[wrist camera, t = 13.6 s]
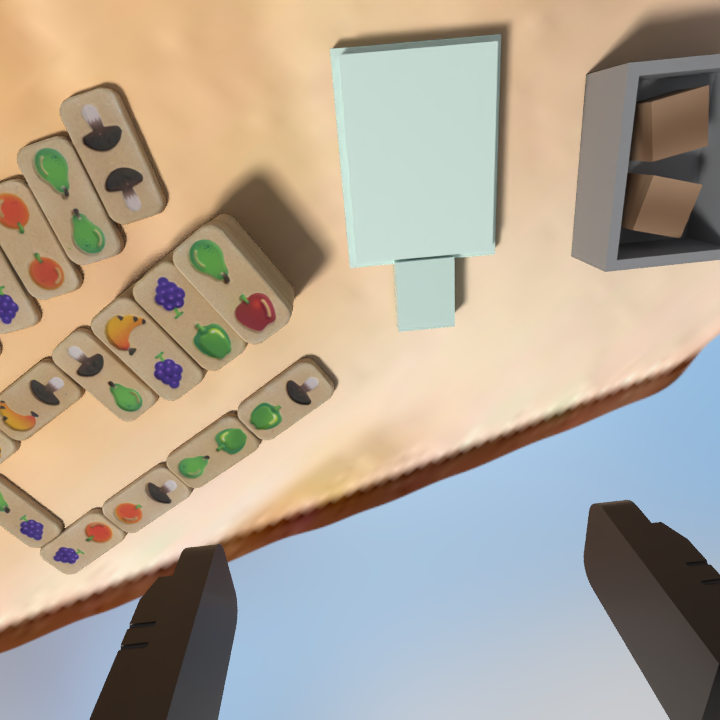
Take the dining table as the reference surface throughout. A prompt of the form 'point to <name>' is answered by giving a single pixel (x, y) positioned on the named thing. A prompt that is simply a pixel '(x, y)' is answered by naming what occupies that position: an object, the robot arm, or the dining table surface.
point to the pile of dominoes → (131, 324)
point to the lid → (419, 163)
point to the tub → (643, 167)
